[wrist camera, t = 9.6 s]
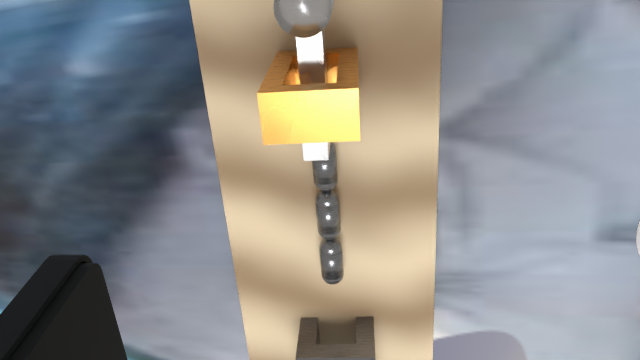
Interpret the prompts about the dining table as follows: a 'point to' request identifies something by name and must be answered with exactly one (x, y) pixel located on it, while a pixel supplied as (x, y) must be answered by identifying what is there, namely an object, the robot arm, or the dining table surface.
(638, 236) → the white ringed handle device
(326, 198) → the block with bead chain
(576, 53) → the dining table surface
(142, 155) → the dining table surface
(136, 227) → the dining table surface
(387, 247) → the board
